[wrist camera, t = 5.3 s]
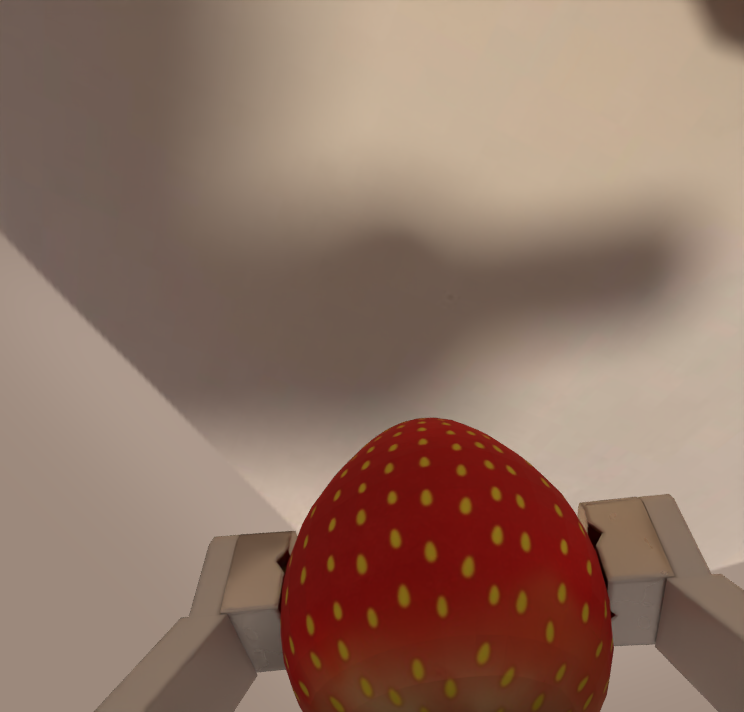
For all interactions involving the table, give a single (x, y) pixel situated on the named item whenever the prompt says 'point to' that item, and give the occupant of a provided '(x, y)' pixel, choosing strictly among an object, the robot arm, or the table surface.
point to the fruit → (444, 584)
